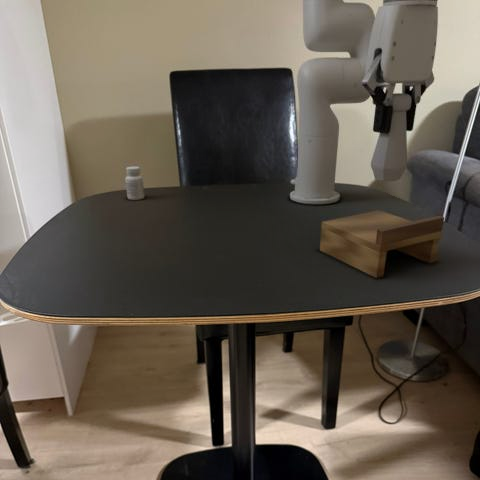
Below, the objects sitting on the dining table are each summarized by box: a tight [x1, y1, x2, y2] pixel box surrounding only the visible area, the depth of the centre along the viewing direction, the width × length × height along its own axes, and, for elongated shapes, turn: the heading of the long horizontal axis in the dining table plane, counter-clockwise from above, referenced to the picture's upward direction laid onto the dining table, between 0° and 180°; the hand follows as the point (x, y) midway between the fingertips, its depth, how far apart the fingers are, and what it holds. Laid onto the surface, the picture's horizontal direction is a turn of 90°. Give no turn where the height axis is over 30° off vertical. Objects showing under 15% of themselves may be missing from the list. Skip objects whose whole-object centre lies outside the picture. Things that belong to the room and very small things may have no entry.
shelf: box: [319, 209, 445, 279], centre depth 85 cm, size 15×14×8 cm
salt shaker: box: [370, 92, 412, 182], centre depth 78 cm, size 6×6×13 cm
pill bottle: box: [124, 165, 145, 201], centre depth 123 cm, size 4×4×8 cm
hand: (392, 130), depth 77 cm, fingers closed on salt shaker, 4 cm apart
